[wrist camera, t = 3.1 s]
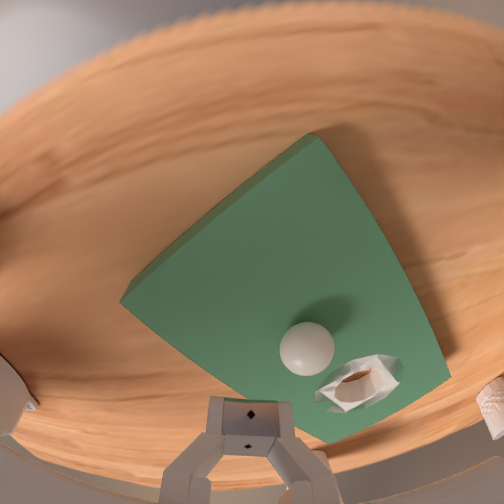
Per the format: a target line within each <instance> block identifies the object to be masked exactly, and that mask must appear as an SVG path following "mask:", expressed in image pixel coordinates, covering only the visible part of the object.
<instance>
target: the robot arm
mask: <svg viewBox="0 0 504 504" xmlns="http://www.w3.org/2000/svg"><path fill="white" fill-rule="evenodd" d="M38 406H39V405H38V403H37V402H36V401H35V400H34V398H33V397H32V396H31V395H30V393H29V391H28V389H27V387H26V385H25V383H24V382H23V380H22V379H21V378H20V376H19V375H18V374H17V373H16V371H15V370H14V369H13V368H12V367H11V366H10V365H9V364H8V363H7V362H6V361H5V360H4V359H3V358H2V357H1V356H0V437H1V436H3V435H9V434H10V435H12V434H13V432H14V430H15V428H16V426H17V424H18V422H19V420H20V418H21V416H22V414H23V412H25V411H31V410H36V409H37V407H38ZM223 455H241V456H259V457H267V459H268V460H269V461H270V463H271V464H272V466H273V467H274V469H275V470H276V471H277V473H278V474H279V476H280V477H281V478H282V480H283V481H284V483H285V484H286V485H287V487H288V488H289V489H288V490H287V491H286V492H285V493H284V494H283V495H282V496H281V497H280V498H279V500H278V504H340V499H339V493H338V487H337V481H336V477H335V476H334V475H333V474H332V473H331V472H330V471H329V469H328V468H327V467H326V466H325V465H324V464H323V463H322V462H321V461H320V460H319V459H318V458H317V457H316V456H315V454H314V453H313V452H312V451H311V450H310V449H309V448H308V447H307V446H306V445H305V443H304V442H303V441H302V440H301V439H300V438H299V437H295V430H294V421H293V413H292V404H291V402H290V401H276V400H251V399H250V400H247V399H235V398H225V397H217V396H210V399H209V408H208V417H207V426H206V433H203V432H202V433H201V434H200V435H199V436H198V437H197V438H196V439H195V440H194V441H193V442H192V443H191V444H190V445H189V446H188V447H187V448H186V449H185V450H184V451H183V452H182V453H181V454H180V455H179V456H178V457H177V458H176V459H175V460H174V461H173V462H172V463H171V464H170V465H169V466H168V467H167V468H166V469H165V470H164V472H163V477H162V483H161V490H160V496H159V502H153V501H148V500H144V499H140V498H136V497H131V496H128V495H124V494H120V493H117V492H113V491H110V490H107V489H104V488H100V487H97V486H94V485H92V484H89V483H86V482H83V481H80V480H78V479H75V478H73V477H70V476H68V475H65V474H63V473H60V472H58V471H56V470H53V469H51V468H49V467H47V466H44V465H42V464H40V463H38V462H36V461H34V460H32V459H30V458H28V457H26V456H24V455H23V454H21V453H19V452H17V451H15V450H13V449H12V448H10V447H8V446H6V445H5V444H3V443H1V442H0V504H210V491H211V481H210V480H209V479H207V478H205V477H206V476H207V475H208V474H209V473H210V471H211V470H212V469H213V468H214V466H215V465H216V464H217V463H218V461H219V460H220V459H221V458H222V456H223ZM359 504H504V458H502V457H500V456H495V457H492V458H490V459H488V460H486V461H484V462H482V463H480V464H478V465H476V466H474V467H472V468H469V469H467V470H465V471H463V472H460V473H458V474H456V475H453V476H451V477H448V478H446V479H443V480H440V481H438V482H435V483H432V484H430V485H427V486H424V487H421V488H417V489H414V490H411V491H408V492H404V493H401V494H397V495H394V496H390V497H386V498H382V499H377V500H373V501H368V502H364V503H359Z"/></svg>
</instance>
